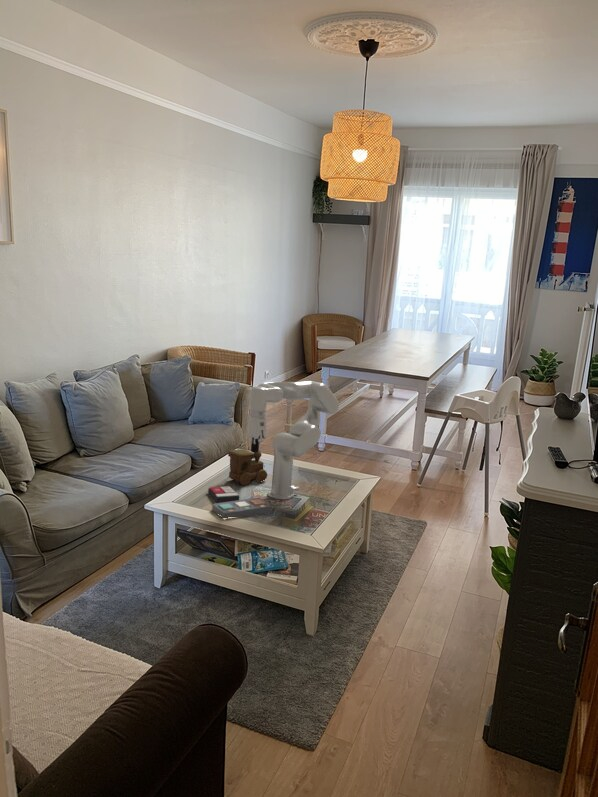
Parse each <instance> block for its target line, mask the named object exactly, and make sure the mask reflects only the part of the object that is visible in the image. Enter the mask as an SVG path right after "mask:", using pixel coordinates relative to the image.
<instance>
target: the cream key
mask: <svg viewBox="0 0 598 797" xmlns="http://www.w3.org/2000/svg"><path fill="white" fill-rule="evenodd" d="M235 505H236V506H237V507H238V508H245V507H250V505H249V504H248V503H246V502H245V501H243V502H236V503H235Z"/></svg>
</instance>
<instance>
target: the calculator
mask: <svg viewBox="0 0 598 797" xmlns="http://www.w3.org/2000/svg"><path fill="white" fill-rule="evenodd" d="M207 490H208V492H207V494H208V493H209V494H208V496H210V498H211V499H212V501H214V504H215V503H223V502H230V501H237V500H240V495H239V494H238V493H237V492H236V491H235V490H234V489H233V488H232V487H231V486H230V485H227V486H225V485H224V486H214V487H212V486H211V487H209V488H208V489H207Z"/></svg>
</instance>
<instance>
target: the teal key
mask: <svg viewBox="0 0 598 797" xmlns="http://www.w3.org/2000/svg"><path fill="white" fill-rule="evenodd" d="M219 508H221V509H222V510H223V511H224V510H231V509H234V507H233V506H232V505H230V504H222V505H219Z"/></svg>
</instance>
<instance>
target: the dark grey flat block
mask: <svg viewBox="0 0 598 797" xmlns="http://www.w3.org/2000/svg"><path fill="white" fill-rule="evenodd" d="M258 499H260V500H262V501H263V502H265V505H258V506H254V505H253V504H252V503H250V500H258ZM243 501H245V502H246V503H248V504H249V505H250V507H245V508H238V507H237V506H236V505H235V503H236V502H243ZM222 504H230V505H232V506H233V507H234V509H231V510H224V511H223V510H222V509H221V508H219V505H222ZM211 505H212V506H211V510H212V512H214V513H215V514H216V513H217V514H219V515H221V516H222V517H223V518H228V517H238V518H245V517H250V516H251V517H252V516H257V515H263V514H271V513H272V507H273V506H272V505H270V504H269V503H267V502H266V501H265V500H263V499H262V498H260V497H253V498H252V497H251V498H246V499H239V500H237V501H230V502H223V503H215V502H214V503H212V504H211ZM217 514H216V515H217ZM219 515H218V516H219ZM238 518H237V519H238Z"/></svg>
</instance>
